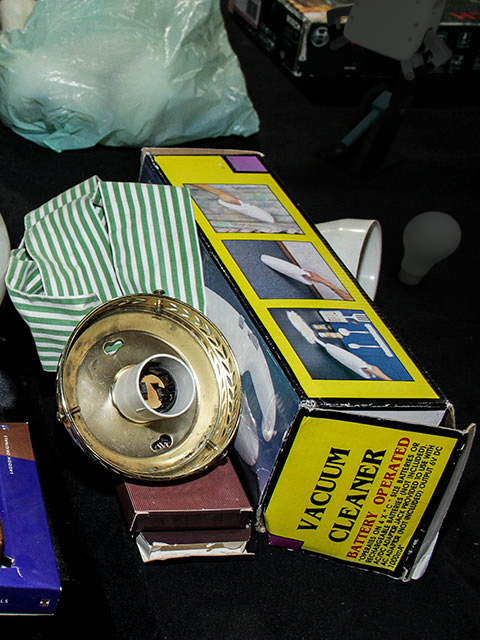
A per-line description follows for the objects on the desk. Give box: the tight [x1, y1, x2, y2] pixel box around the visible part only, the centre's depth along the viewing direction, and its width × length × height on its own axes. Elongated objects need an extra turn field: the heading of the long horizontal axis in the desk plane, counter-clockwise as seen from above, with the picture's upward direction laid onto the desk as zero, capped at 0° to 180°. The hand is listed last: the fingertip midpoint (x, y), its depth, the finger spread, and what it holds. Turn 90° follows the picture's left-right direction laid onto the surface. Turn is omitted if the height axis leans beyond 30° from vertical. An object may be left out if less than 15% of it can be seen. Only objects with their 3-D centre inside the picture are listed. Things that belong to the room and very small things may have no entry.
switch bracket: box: [318, 83, 415, 181], centre depth 131 cm, size 10×8×12 cm
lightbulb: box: [397, 211, 462, 286], centre depth 110 cm, size 6×6×11 cm
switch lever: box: [323, 90, 393, 164], centre depth 129 cm, size 13×3×3 cm
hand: (364, 89), depth 121 cm, fingers open, 9 cm apart
